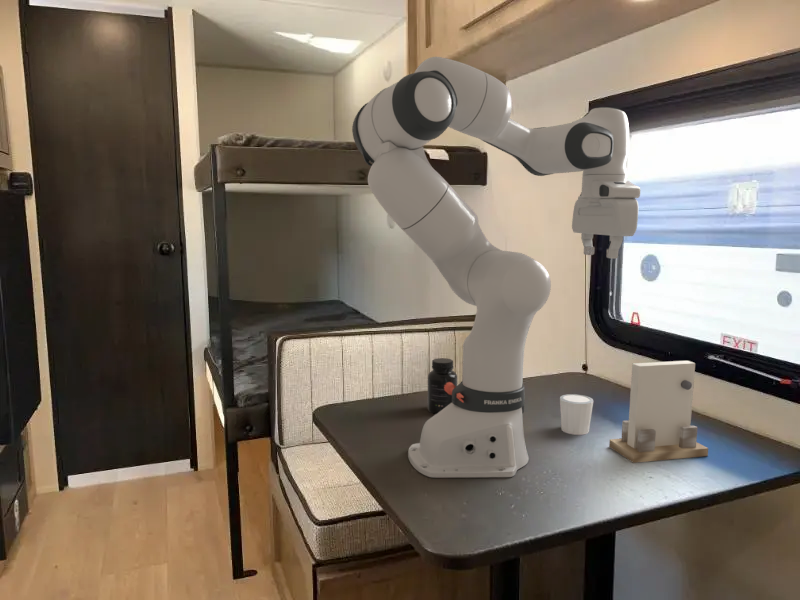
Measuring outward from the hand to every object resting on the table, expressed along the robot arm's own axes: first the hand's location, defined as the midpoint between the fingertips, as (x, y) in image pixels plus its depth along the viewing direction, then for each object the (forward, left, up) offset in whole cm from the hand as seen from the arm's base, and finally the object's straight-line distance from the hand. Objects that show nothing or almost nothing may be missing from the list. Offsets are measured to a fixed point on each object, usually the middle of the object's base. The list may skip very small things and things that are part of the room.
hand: (600, 256), depth 130 cm
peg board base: (+5, -17, -37) cm, 41 cm away
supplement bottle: (-29, +15, -37) cm, 50 cm away
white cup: (-5, -3, -37) cm, 37 cm away
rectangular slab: (+5, -17, -35) cm, 39 cm away
